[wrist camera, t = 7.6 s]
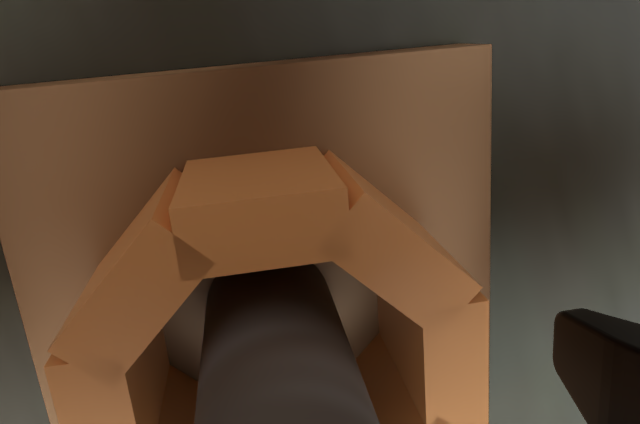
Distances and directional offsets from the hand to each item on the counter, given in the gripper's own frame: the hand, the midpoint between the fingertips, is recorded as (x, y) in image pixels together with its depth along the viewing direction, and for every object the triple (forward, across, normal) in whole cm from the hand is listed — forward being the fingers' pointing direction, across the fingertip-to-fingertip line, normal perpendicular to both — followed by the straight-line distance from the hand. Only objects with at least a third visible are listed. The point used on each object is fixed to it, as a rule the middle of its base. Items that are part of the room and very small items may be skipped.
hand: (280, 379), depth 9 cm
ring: (+2, 0, 0) cm, 3 cm away
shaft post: (+4, 0, 0) cm, 4 cm away
